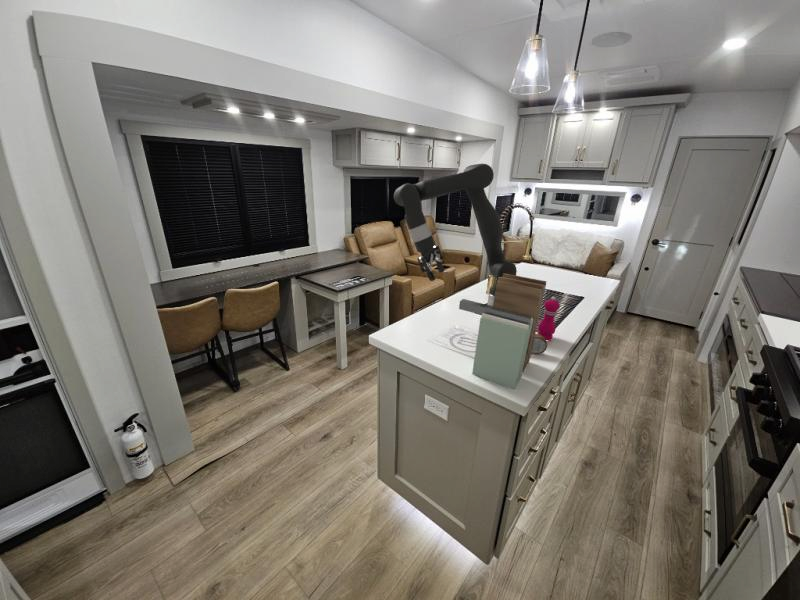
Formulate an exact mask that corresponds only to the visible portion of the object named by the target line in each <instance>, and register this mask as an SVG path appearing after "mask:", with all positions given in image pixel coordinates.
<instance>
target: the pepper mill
mask: <svg viewBox="0 0 800 600" xmlns="http://www.w3.org/2000/svg"><path fill="white" fill-rule="evenodd" d="M543 306H544V311H543V312H544V316H543V319H542V320H541V321H540V322H539V324H537V331H538V332H537V334H539V335H542V336H543V337H545V339H546V340H550V341H552V340H551V339H553V335H554V334H555V333H556V325H555V316H556V315H557V313H558V310H559V309H560V306H561V305H560V303H559V301H558V300H557V298H556V296H552V297H551V298H550V299H547V300H546V301H545V302H544V304H543Z"/></svg>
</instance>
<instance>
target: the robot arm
mask: <svg viewBox="0 0 800 600" xmlns="http://www.w3.org/2000/svg"><path fill="white" fill-rule="evenodd" d="M494 175H495V174H494V170H493V168H492V166H490V165H489V164H487V163H477V164H471V165H469V166H467V167H465V169H463V172H458V173H453V174H448V175H442V176H441V175H440V176H436V177H431V178H428V179H424V180H421V181H419V182H417V183H413V184H412V183H410V182H407V183H404V184H402V185H401V186H399V187H397V188H396V189H395V191H394V193H393V200H394V202H395V203H396V204H397V205H398V206H401V207H404V208H403V209H404V210H405V215H404V220H405V222H406V225H407V228H408V230H409V234H410V237H411V239H412V243H413V245H414V246H415V250H416V252H417V253H419V254H420V257H417V262H418V265H419V268H420V270H421V273H423V274H425V273H426V275H427V277H428V280H429V281H430V282H434V281H435V280H436V277H435V275H434V272H433V270H432V269H433V268H432V267H433V263H435V264H436V268H437V270H438V273H444V272H445V268H444V265H443V260H444V256H443V254H442V251H441V249H440V247H439V246H440V245H436V244H437V243H436V242H435V241H436V240H435V239H434V236H433V234H432V231H431V229H430V228H431V227H430V226H429V224H428V222H427V219H426V217H425V215H424V213H423V207H422V201H428V200H432V199H435V198H436V199H437V198H439V197H442V196H446V195H450V194H453V193H457V192H461V191H466V194H467V197H468V198H469V199H468V200H469V201H470V204H471V207H472V210H473V214H474V216H475V220H476V223H477V228H478V230H479V234H480V236H481V241H482V244H483V246H484V250H485V253H486V256H487V258H486V259H487V263H488V268H489V272H490V274H491V276H492V277H494V278H495V282H494V285H491V286H490V288H489V290H488V291H489V292H488V298H487V304H486V305H490V306H493V302H494V296H495V290H496V284H497V281H498V277H503V274H504V273H505V274H510V275H516V276H517V272H518V271H517V266H516V264H515V263H514V262H512V261H510V260H508V259H506V257H505V255H504V251H503V248H502V241H503V233H504V230H503V225H502V222H501V218H500V215H499V212H497V210H496V208H495V207H494V205H493V204H492V203H491V202H490V200H489V198H488V197H487V194H486V192H485V188H487V187H489V186H490V185H491V184H492V182H493V180H494Z"/></svg>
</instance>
